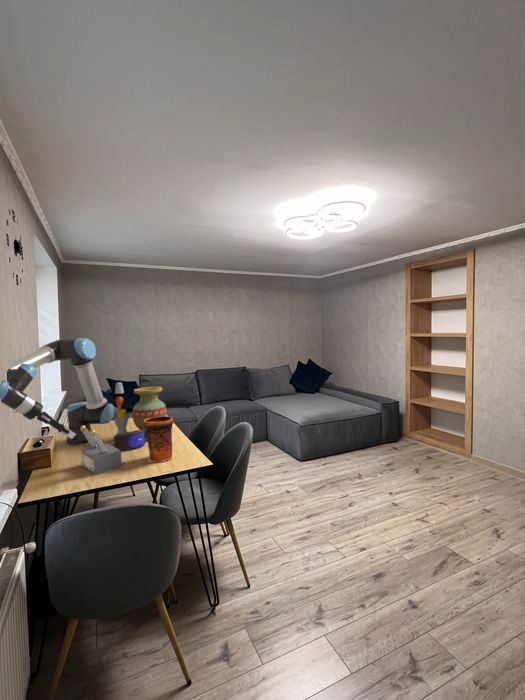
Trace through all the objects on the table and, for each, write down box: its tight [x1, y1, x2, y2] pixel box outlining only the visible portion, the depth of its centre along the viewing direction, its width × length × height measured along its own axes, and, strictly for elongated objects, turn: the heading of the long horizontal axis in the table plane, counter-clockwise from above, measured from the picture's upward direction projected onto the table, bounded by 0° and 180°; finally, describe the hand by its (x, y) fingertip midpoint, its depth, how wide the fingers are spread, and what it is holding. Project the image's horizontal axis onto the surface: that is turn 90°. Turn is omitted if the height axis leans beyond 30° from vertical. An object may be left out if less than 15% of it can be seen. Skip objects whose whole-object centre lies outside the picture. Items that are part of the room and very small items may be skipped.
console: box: [80, 443, 123, 476], centre depth 165 cm, size 17×13×8 cm
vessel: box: [144, 416, 175, 463], centre depth 173 cm, size 14×14×20 cm
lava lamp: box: [112, 382, 130, 434], centre depth 203 cm, size 9×9×35 cm
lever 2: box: [90, 429, 107, 453], centre depth 158 cm, size 3×2×13 cm
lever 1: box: [80, 425, 97, 448], centre depth 167 cm, size 3×2×13 cm
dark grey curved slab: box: [113, 429, 146, 452], centre depth 189 cm, size 16×5×9 cm, turn 125°
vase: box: [131, 386, 167, 442], centre depth 208 cm, size 20×20×30 cm
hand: (73, 436), depth 162 cm, fingers closed
